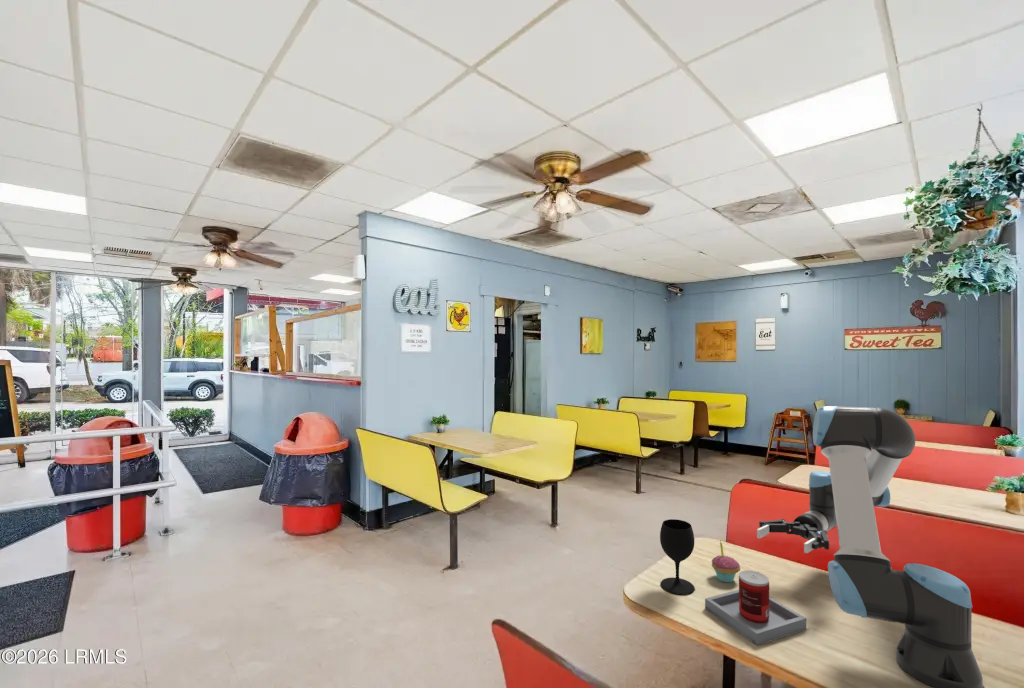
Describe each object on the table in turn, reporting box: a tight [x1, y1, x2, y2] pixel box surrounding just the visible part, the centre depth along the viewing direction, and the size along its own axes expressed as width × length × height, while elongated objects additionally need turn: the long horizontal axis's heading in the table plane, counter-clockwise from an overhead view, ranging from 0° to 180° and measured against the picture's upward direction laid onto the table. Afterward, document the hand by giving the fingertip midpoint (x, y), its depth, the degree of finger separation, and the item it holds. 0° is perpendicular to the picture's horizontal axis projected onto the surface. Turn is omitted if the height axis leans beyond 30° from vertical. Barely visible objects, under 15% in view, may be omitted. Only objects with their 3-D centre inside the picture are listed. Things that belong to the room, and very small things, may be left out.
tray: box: [704, 589, 807, 646], centre depth 133 cm, size 18×18×3 cm
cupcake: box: [711, 540, 741, 583], centre depth 156 cm, size 9×8×12 cm
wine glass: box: [659, 518, 696, 596], centre depth 151 cm, size 10×10×20 cm
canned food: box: [738, 569, 770, 623], centre depth 133 cm, size 8×8×11 cm
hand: (780, 540), depth 144 cm, fingers open, 13 cm apart
